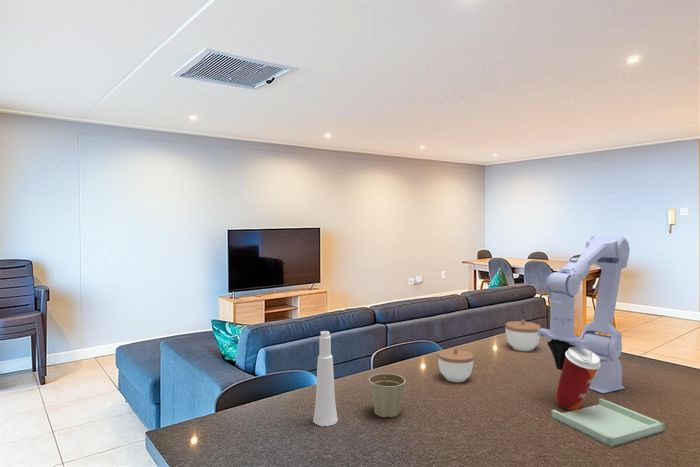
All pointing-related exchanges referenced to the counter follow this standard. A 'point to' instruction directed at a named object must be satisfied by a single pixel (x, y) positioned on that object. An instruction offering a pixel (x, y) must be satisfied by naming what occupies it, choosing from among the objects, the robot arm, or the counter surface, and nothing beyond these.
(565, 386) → the coffee cup
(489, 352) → the counter surface
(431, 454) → the counter surface
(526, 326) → the lidded bowl
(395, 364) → the counter surface
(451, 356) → the lidded jar
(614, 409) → the tray
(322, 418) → the cosmetic bottle
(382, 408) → the flower pot
